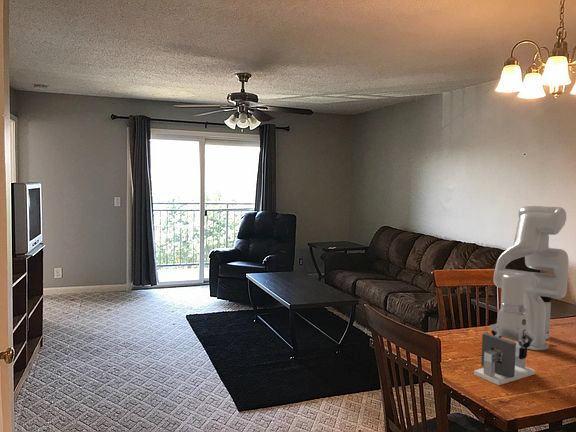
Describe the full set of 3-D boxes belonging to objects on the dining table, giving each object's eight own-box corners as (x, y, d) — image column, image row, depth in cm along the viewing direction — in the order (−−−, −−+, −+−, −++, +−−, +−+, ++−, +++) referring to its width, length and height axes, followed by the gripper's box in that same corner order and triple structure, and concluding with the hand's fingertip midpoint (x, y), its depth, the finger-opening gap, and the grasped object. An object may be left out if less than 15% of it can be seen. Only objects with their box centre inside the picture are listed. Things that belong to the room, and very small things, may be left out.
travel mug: (552, 339, 203) (554, 295, 202) (536, 338, 205) (538, 294, 203) (547, 334, 209) (549, 292, 208) (531, 333, 211) (533, 291, 209)
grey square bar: (517, 351, 171) (518, 342, 171) (526, 354, 168) (526, 345, 168) (483, 360, 162) (483, 351, 162) (491, 363, 159) (492, 354, 159)
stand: (509, 364, 175) (510, 347, 174) (534, 374, 166) (535, 356, 165) (474, 374, 165) (474, 357, 165) (498, 385, 156) (499, 366, 156)
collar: (484, 364, 169) (486, 333, 168) (514, 376, 159) (515, 343, 158) (481, 365, 168) (482, 333, 167) (510, 377, 158) (512, 344, 157)
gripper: (541, 312, 159) (539, 360, 161) (498, 301, 175) (496, 344, 176) (528, 315, 156) (525, 364, 157) (484, 303, 171) (483, 347, 172)
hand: (510, 353), depth 166 cm, fingers open, 9 cm apart
